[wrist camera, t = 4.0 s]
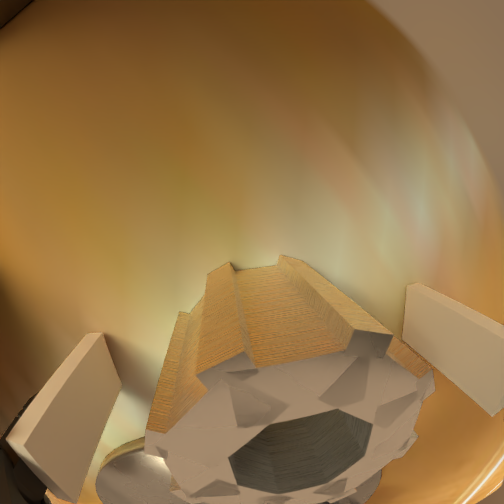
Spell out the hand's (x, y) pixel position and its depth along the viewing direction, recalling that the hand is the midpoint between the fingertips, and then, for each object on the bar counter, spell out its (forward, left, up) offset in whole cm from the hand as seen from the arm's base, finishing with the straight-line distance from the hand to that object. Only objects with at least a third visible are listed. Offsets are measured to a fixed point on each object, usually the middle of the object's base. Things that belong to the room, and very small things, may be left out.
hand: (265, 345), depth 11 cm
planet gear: (0, 0, 0) cm, 0 cm away
